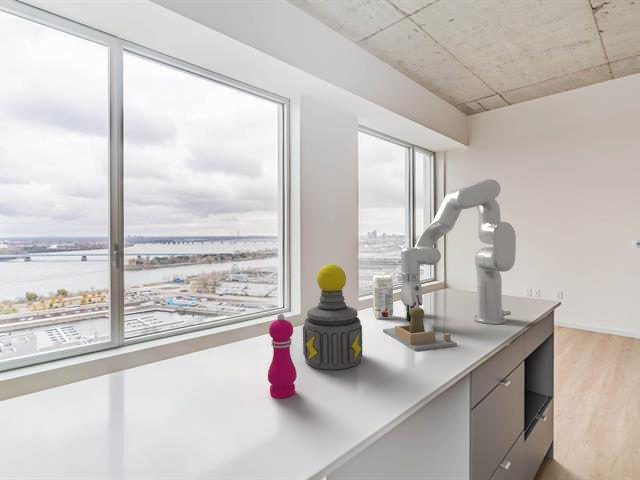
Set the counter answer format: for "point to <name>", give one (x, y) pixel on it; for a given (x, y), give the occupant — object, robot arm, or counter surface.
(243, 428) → the counter surface
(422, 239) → the robot arm
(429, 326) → the bar
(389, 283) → the juice carton
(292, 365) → the pepper mill
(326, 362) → the decorative lamp
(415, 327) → the cork
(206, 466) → the counter surface
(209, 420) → the counter surface
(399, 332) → the dock
